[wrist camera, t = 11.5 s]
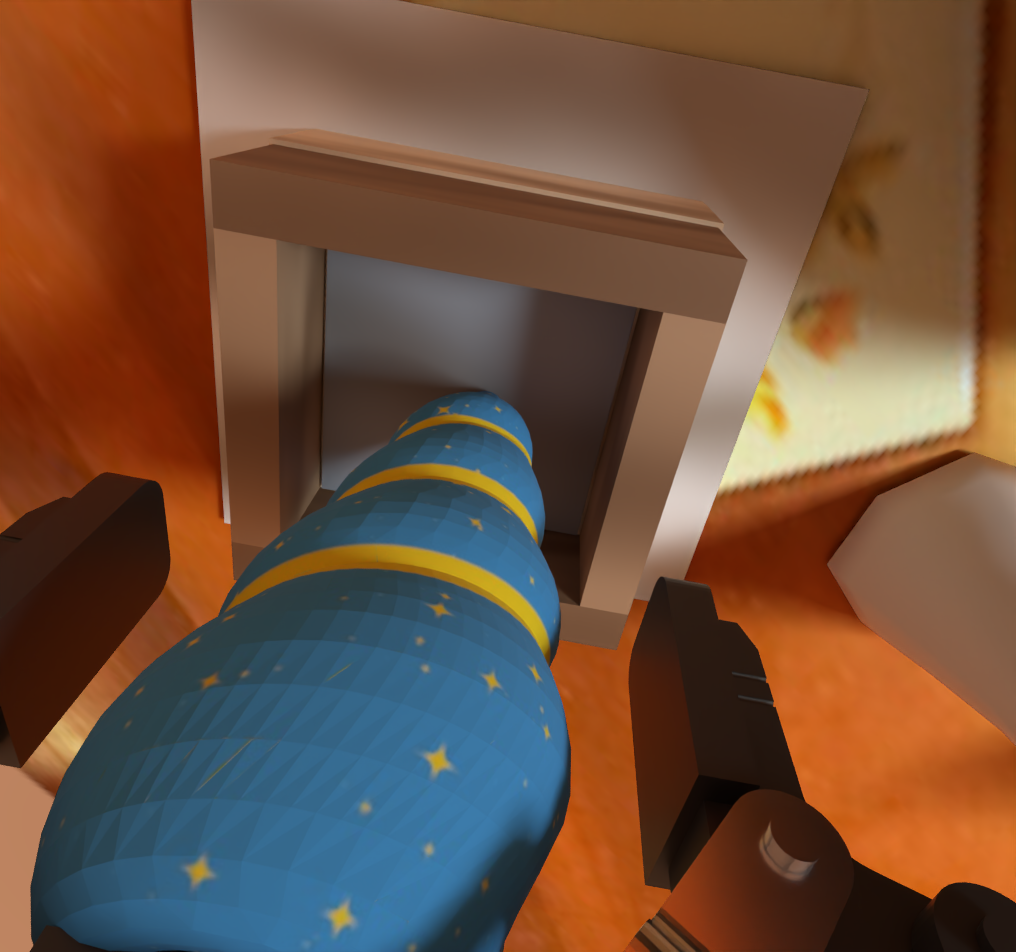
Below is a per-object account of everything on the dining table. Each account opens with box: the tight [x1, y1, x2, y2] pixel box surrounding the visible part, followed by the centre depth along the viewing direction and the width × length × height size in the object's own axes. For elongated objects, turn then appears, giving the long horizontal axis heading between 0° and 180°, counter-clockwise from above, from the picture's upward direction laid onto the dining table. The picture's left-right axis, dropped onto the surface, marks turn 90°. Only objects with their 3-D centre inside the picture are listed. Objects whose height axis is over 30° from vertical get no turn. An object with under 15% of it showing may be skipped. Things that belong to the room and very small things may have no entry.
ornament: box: [31, 391, 571, 952], centre depth 11 cm, size 5×5×15 cm
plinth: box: [191, 0, 869, 650], centre depth 18 cm, size 16×16×6 cm
